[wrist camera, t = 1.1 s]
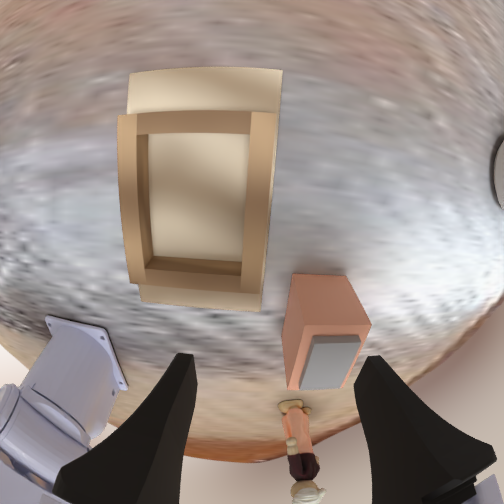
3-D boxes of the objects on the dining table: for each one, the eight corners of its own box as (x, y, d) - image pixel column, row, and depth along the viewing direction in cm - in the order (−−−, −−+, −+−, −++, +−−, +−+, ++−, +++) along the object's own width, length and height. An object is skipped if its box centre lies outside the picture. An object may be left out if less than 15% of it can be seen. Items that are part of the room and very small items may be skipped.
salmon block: (328, 336, 21) (344, 393, 16) (281, 336, 21) (288, 396, 16) (345, 275, 19) (375, 331, 13) (292, 273, 19) (306, 332, 13)
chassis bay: (260, 306, 20) (260, 328, 18) (143, 296, 20) (133, 315, 18) (281, 72, 13) (286, 63, 11) (133, 75, 13) (116, 69, 11)
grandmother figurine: (262, 404, 26) (264, 511, 14) (291, 391, 25) (302, 505, 13) (300, 425, 28) (309, 513, 17) (327, 414, 27) (343, 506, 16)
